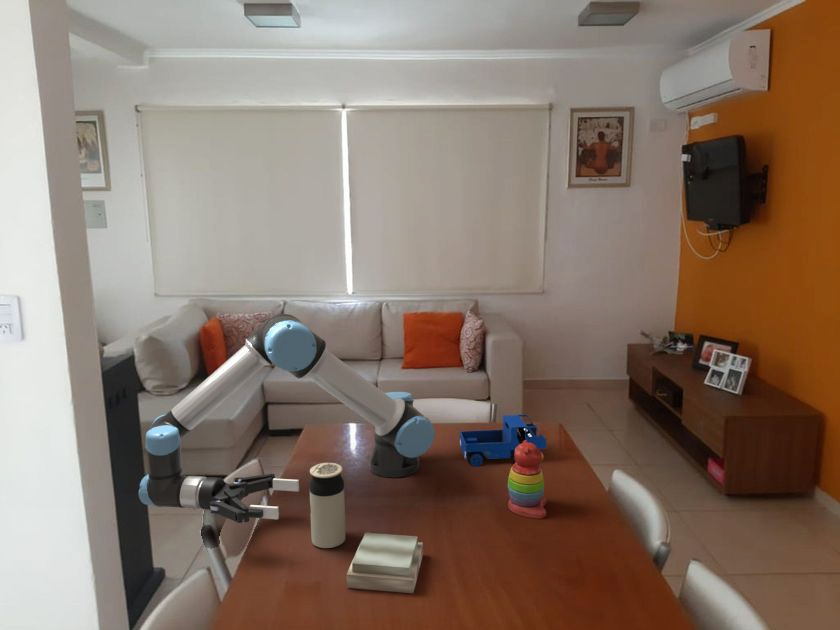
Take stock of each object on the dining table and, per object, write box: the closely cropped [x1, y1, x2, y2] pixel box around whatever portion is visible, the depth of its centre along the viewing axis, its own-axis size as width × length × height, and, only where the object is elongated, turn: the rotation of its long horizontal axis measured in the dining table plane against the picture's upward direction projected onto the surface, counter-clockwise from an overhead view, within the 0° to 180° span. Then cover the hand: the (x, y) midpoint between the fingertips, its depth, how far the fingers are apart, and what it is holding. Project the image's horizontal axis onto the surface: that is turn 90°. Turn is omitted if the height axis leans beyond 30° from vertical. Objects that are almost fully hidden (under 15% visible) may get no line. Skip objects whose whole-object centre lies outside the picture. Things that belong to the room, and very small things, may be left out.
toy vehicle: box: [459, 414, 547, 467], centre depth 188 cm, size 25×12×12 cm, turn 95°
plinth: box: [345, 532, 424, 594], centre depth 131 cm, size 14×14×5 cm
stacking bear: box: [507, 440, 547, 520], centre depth 156 cm, size 11×10×18 cm
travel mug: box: [308, 462, 346, 549], centre depth 141 cm, size 8×8×18 cm
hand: (288, 498), depth 142 cm, fingers open, 13 cm apart
